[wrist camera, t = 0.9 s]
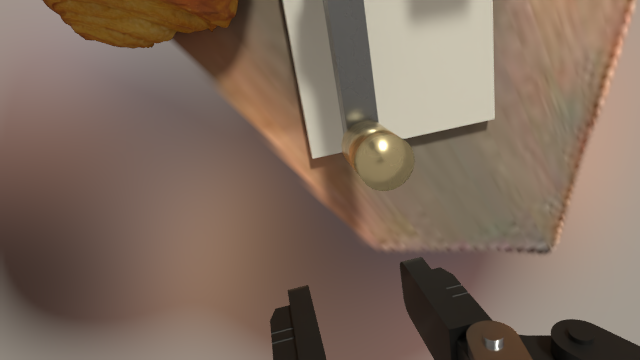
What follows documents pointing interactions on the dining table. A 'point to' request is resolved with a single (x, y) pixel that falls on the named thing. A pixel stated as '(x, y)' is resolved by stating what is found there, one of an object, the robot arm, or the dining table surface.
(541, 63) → the dining table surface
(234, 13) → the croissant
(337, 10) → the bar
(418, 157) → the dining table surface
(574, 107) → the dining table surface
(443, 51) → the plate
